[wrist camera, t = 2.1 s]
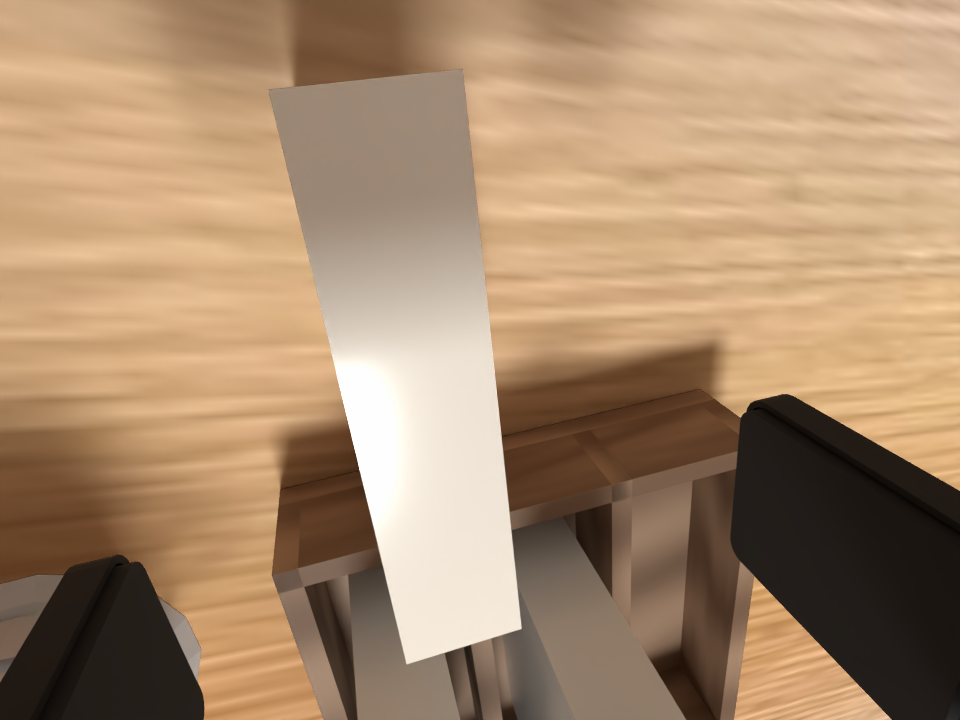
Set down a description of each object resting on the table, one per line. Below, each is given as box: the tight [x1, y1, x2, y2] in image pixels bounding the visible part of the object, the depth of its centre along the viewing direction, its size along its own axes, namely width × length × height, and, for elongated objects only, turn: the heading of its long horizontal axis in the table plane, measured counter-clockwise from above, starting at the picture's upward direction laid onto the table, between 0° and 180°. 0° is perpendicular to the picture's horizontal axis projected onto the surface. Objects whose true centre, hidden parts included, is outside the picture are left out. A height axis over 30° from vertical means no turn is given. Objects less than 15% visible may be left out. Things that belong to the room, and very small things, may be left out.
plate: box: [268, 69, 522, 664], centre depth 15 cm, size 12×3×10 cm, turn 6°
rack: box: [272, 389, 754, 720], centre depth 25 cm, size 18×18×4 cm
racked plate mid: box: [503, 516, 686, 720], centre depth 22 cm, size 12×3×10 cm, turn 6°
